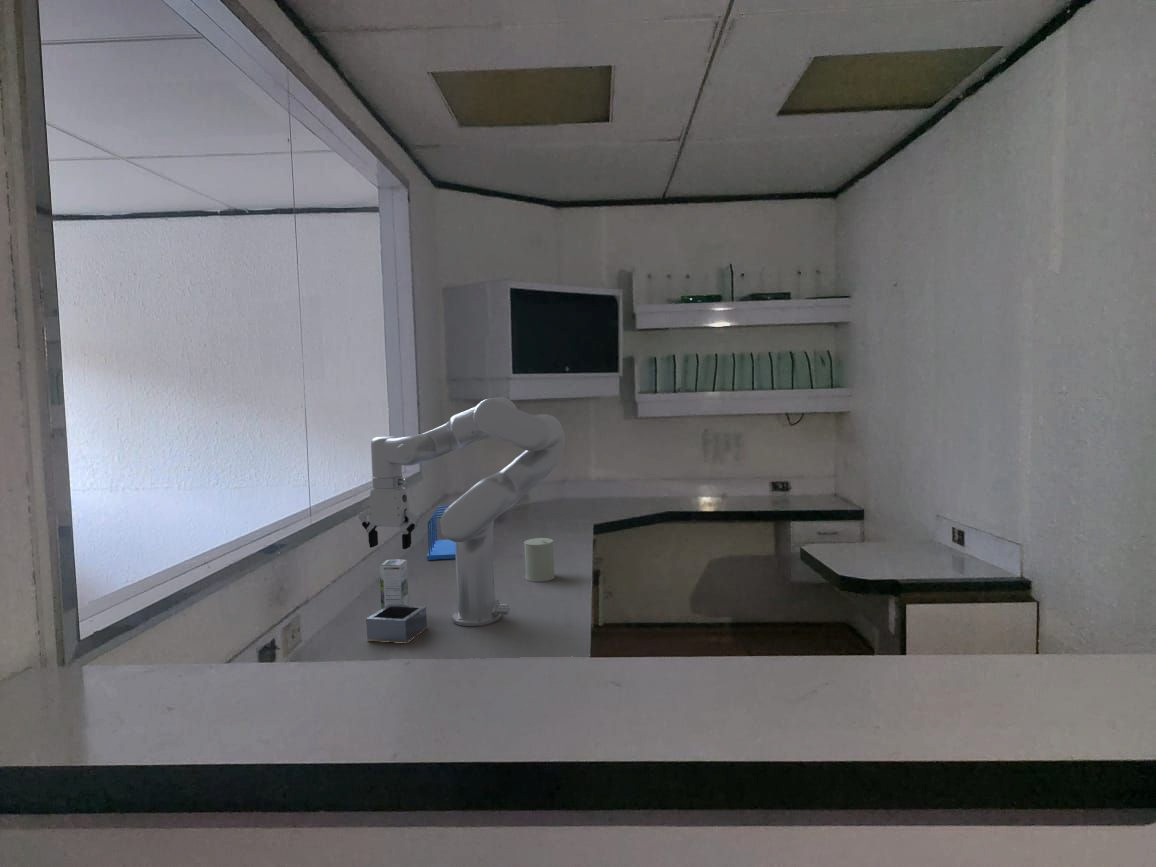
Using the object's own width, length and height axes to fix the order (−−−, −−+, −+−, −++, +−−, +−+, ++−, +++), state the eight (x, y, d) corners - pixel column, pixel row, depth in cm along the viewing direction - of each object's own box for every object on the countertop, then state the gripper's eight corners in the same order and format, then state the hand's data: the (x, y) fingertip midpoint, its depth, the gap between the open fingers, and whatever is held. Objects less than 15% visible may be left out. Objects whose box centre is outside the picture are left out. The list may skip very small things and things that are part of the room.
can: (539, 583, 204) (538, 544, 203) (519, 578, 210) (517, 540, 209) (561, 576, 211) (559, 538, 210) (540, 571, 217) (538, 535, 216)
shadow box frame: (427, 628, 169) (425, 606, 169) (406, 644, 159) (405, 620, 159) (390, 626, 172) (388, 604, 171) (367, 641, 162) (366, 618, 161)
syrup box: (388, 611, 183) (385, 559, 182) (409, 611, 183) (406, 558, 182) (381, 619, 177) (378, 565, 176) (403, 618, 177) (400, 564, 176)
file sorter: (476, 558, 238) (474, 515, 237) (426, 561, 236) (424, 518, 235) (479, 542, 263) (477, 503, 262) (434, 545, 261) (432, 505, 260)
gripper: (424, 481, 179) (426, 545, 180) (366, 480, 183) (368, 542, 185) (410, 486, 172) (412, 552, 173) (350, 484, 176) (353, 549, 177)
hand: (390, 547), depth 179 cm, fingers open, 9 cm apart
